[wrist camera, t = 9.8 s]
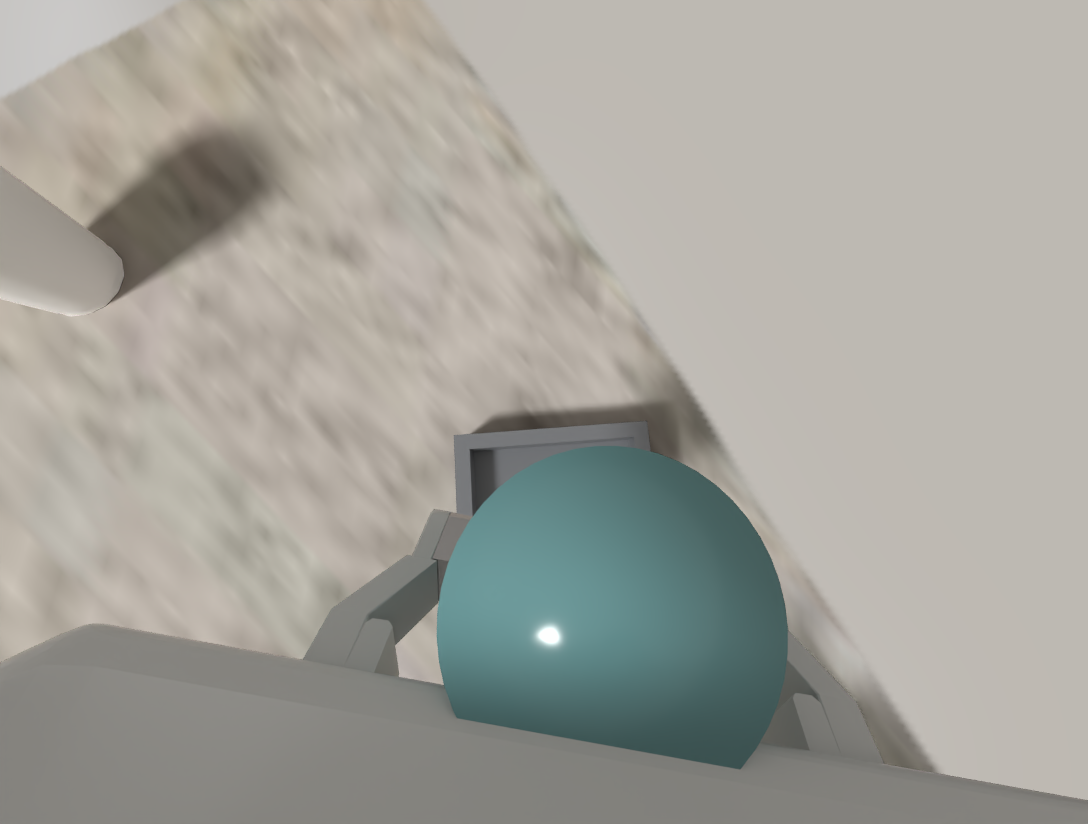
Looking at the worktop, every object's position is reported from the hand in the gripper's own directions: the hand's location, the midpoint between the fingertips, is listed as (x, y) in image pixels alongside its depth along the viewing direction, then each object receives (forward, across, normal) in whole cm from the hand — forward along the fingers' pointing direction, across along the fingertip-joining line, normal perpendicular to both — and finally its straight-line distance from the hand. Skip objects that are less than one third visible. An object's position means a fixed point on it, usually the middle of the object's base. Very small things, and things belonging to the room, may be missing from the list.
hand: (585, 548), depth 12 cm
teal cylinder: (+4, 0, +5) cm, 6 cm away
